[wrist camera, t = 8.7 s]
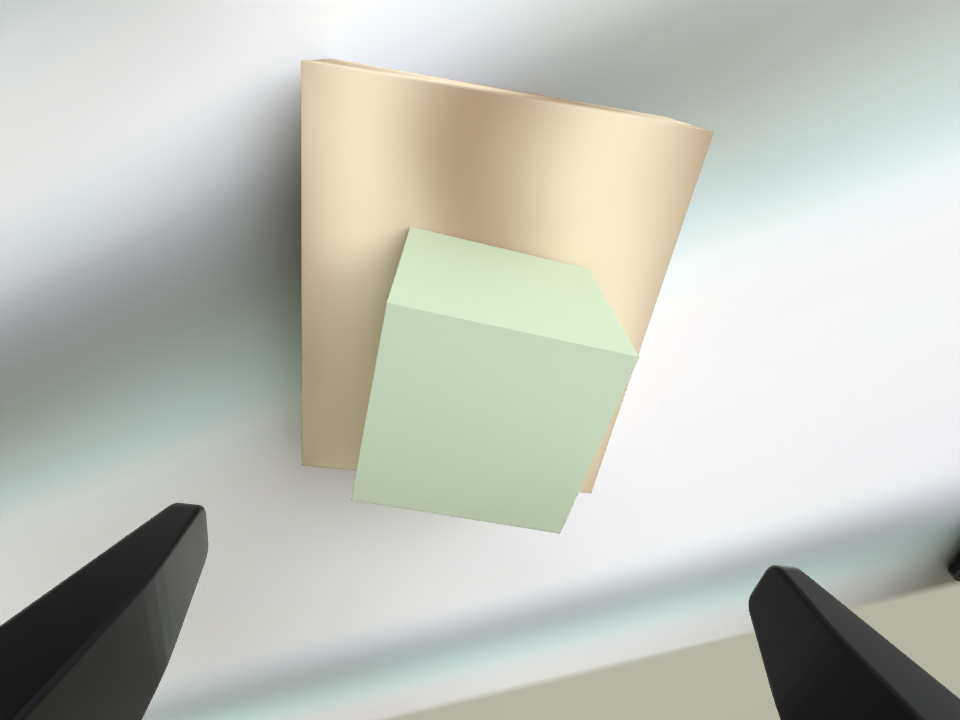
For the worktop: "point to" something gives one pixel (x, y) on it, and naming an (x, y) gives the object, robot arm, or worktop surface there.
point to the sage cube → (490, 384)
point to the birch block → (467, 211)
